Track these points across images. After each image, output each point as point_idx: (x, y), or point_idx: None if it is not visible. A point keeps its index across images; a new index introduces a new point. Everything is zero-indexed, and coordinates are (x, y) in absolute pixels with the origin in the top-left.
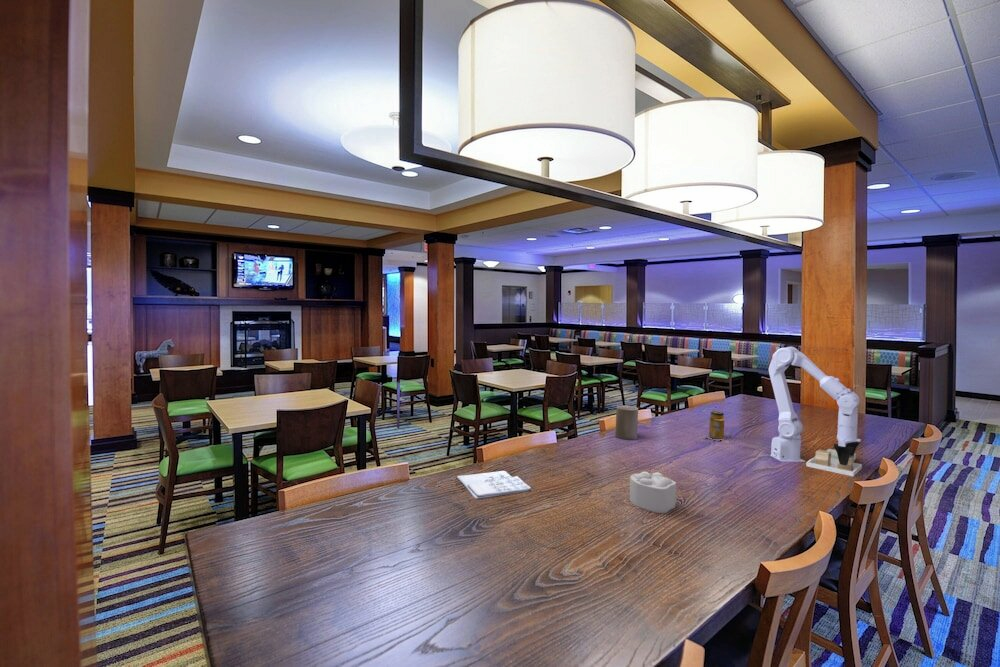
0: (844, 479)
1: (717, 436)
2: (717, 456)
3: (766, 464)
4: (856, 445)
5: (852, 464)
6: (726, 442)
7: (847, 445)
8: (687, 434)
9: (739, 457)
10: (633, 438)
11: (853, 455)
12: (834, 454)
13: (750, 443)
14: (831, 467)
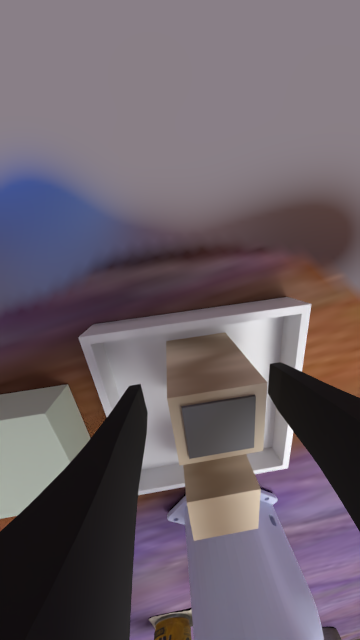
0: (340, 312)
1: (187, 633)
2: (336, 555)
3: (327, 497)
4: (66, 569)
5: (200, 356)
6: (189, 602)
7: (116, 576)
8: None
9: (307, 542)
10: (327, 632)
11: (129, 412)
12: (52, 476)
13: (138, 591)
14: None
